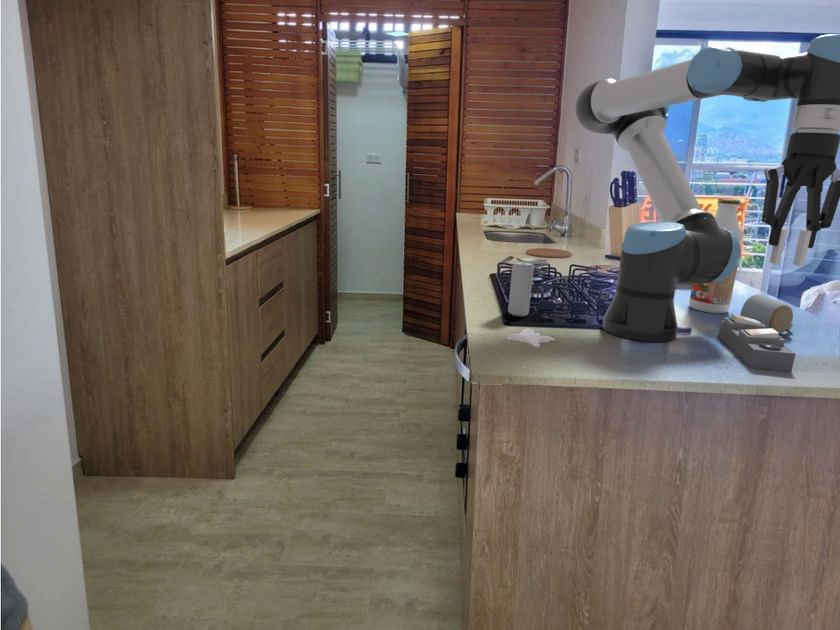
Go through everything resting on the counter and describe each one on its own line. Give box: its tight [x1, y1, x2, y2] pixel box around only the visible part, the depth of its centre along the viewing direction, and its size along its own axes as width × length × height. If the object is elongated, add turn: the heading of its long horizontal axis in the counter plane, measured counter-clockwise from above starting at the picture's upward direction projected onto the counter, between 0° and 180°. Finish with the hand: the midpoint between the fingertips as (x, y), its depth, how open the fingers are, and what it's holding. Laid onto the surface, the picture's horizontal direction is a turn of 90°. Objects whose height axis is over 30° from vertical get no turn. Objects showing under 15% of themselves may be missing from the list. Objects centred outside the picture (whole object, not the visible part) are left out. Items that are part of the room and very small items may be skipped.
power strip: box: [717, 316, 796, 373], centre depth 115 cm, size 7×20×5 cm, turn 169°
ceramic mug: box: [740, 293, 794, 335], centre depth 133 cm, size 11×8×8 cm
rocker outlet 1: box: [729, 313, 761, 325], centre depth 121 cm, size 5×3×1 cm
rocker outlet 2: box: [745, 328, 780, 338], centre depth 112 cm, size 5×3×1 cm
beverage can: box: [507, 260, 535, 317], centre depth 134 cm, size 5×5×12 cm
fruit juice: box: [688, 197, 744, 314], centre depth 146 cm, size 9×9×28 cm
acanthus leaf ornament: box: [506, 327, 556, 348], centre depth 117 cm, size 8×7×2 cm
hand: (786, 264), depth 108 cm, fingers open, 3 cm apart
